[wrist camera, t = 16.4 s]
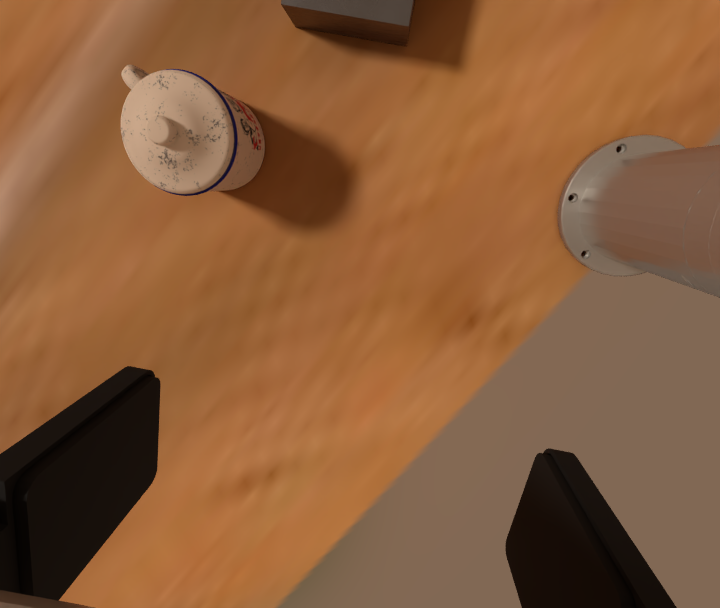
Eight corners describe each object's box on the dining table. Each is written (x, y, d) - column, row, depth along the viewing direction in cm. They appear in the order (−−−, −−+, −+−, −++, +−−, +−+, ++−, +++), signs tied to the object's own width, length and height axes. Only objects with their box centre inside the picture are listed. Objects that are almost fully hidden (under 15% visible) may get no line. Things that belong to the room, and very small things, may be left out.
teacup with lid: (287, 144, 40) (247, 130, 29) (227, 212, 42) (167, 223, 31) (193, 44, 38) (110, -12, 27) (135, 120, 40) (36, 97, 29)
